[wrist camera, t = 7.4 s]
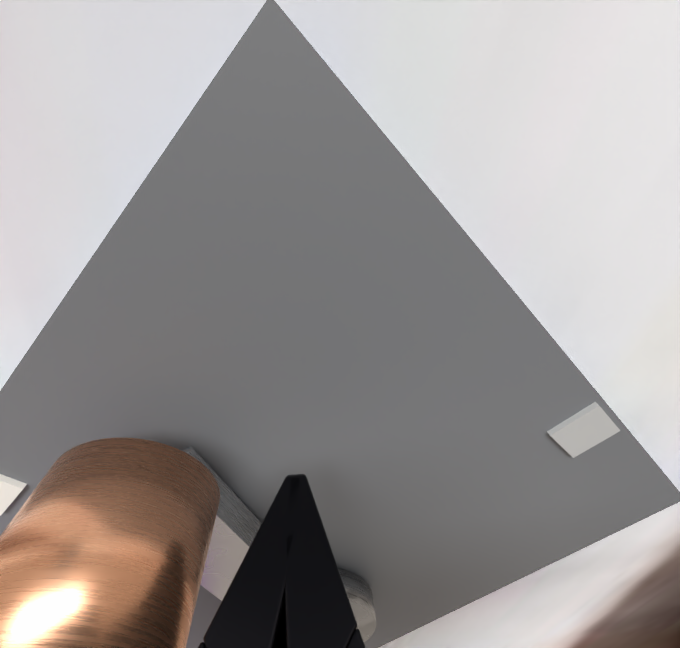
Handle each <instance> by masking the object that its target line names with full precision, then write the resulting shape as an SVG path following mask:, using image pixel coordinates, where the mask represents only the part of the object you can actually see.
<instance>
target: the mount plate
mask: <svg viewBox="0 0 680 648" xmlns="http://www.w3.org/2000/svg"><path fill="white" fill-rule="evenodd" d="M105 438H137V439H144V440H150V441H155V442H158V443H162V444H166V445H168V446H171V447H174V448H177V449H179V450H184V449H187V448H190V447H192V448H193V449H194V450H195V451H196V452H197V453H198V454H199V455H200V456H201V458H202V459H203V460H204V461H205V462H206V463H207V464H208V465H209V466H210V467H211V468H212V470H213V471H214V472H215V473H216V474H217V475H218V476H219V477H220V478H221V479H222V480H223V482H224V483H225V484H226V485H227V486H228V487H229V488H230V489H231V490H232V491H233V492H234V494H235V495H236V496H237V497H238V498H239V499H240V500H241V501H242V502H243V503H244V505H245V506H246V507H247V508H248V509H249V510H250V511H251V512H252V513H253V514H254V515H255V517H256V518H257V519H258V520H259V521H260V522H261V523H262V522H263V520H264V518H265V516H266V514H267V512H268V510H269V508H270V506H271V504H272V502H273V500H274V498H275V496H276V495H277V493H278V491H279V489H280V487H281V485H282V483H283V481H284V479H285V477H286V476H287V475H293V474H305V475H306V477H307V479H308V482H309V485H310V488H311V491H312V494H313V497H314V500H315V502H316V505H317V508H318V511H319V514H320V517H321V520H322V523H323V526H324V529H325V532H326V534H327V537H328V540H329V543H330V546H331V549H332V552H333V555H334V558H335V561H336V564H337V567H338V569H342V570H345V571H348V572H351V573H354V574H356V575H358V576H359V577H361V578H362V579H364V580H365V581H366V582H367V583H368V584H369V586H370V587H371V590H372V594H373V601H374V609H375V616H376V629H375V631H374V633H373V635H372V636H371V637H370V638H369V639H368V640H367V641H366V642H364V645H365V648H378V647H380V646H382V645H384V644H386V643H388V642H390V641H393V640H395V639H397V638H399V637H401V636H403V635H405V634H407V633H409V632H411V631H413V630H415V629H417V628H419V627H421V626H424V625H426V624H428V623H430V622H432V621H434V620H436V619H438V618H440V617H442V616H444V615H446V614H448V613H450V612H452V611H455V610H457V609H459V608H461V607H463V606H465V605H467V604H469V603H471V602H473V601H475V600H477V599H479V598H481V597H483V596H486V595H488V594H490V593H492V592H494V591H496V590H498V589H500V588H502V587H504V586H506V585H508V584H510V583H512V582H514V581H517V580H519V579H521V578H523V577H525V576H527V575H529V574H531V573H533V572H535V571H537V570H539V569H541V568H543V567H545V566H548V565H550V564H552V563H554V562H556V561H558V560H560V559H562V558H564V557H566V556H568V555H570V554H572V553H574V552H576V551H579V550H581V549H583V548H585V547H587V546H589V545H591V544H593V543H595V542H597V541H599V540H601V539H603V538H605V537H607V536H609V535H612V534H614V533H616V532H618V531H620V530H622V529H624V528H626V527H628V526H630V525H632V524H634V523H636V522H638V521H640V520H643V519H645V518H647V517H649V516H651V515H653V514H655V513H657V512H659V511H661V510H663V509H665V508H667V507H669V506H671V505H674V504H676V503H678V502H680V492H679V491H678V490H677V488H676V487H675V486H674V485H673V484H672V482H671V481H670V480H669V479H668V477H667V476H666V475H665V474H664V473H663V471H662V470H661V469H660V468H659V467H658V465H657V464H656V463H655V462H654V461H653V459H652V458H651V457H650V456H649V454H648V453H647V452H646V451H645V450H644V448H643V447H642V446H641V445H640V444H639V442H638V441H637V440H636V439H635V437H634V436H633V435H632V434H631V433H630V431H629V430H628V429H627V428H626V427H625V425H624V424H623V423H622V422H621V420H620V419H619V418H618V417H617V416H616V414H615V413H614V412H613V411H612V410H611V408H610V407H609V406H608V405H607V404H606V402H605V401H604V400H603V399H602V397H601V396H600V395H599V394H598V393H597V391H596V390H595V389H594V388H593V387H592V385H591V384H590V383H589V382H588V380H587V379H586V378H585V377H584V376H583V374H582V373H581V372H580V371H579V370H578V368H577V367H576V366H575V365H574V364H573V362H572V361H571V360H570V359H569V357H568V356H567V355H566V354H565V353H564V351H563V350H562V349H561V348H560V347H559V345H558V344H557V343H556V342H555V340H554V339H553V338H552V337H551V336H550V334H549V333H548V332H547V331H546V330H545V328H544V327H543V326H542V325H541V323H540V322H539V321H538V320H537V319H536V317H535V316H534V315H533V314H532V313H531V311H530V310H529V309H528V308H527V307H526V305H525V304H524V303H523V302H522V300H521V299H520V298H519V297H518V296H517V294H516V293H515V292H514V291H513V290H512V288H511V287H510V286H509V285H508V283H507V282H506V281H505V280H504V279H503V277H502V276H501V275H500V274H499V273H498V271H497V270H496V269H495V268H494V267H493V265H492V264H491V263H490V262H489V260H488V259H487V258H486V257H485V256H484V254H483V253H482V252H481V251H480V250H479V248H478V247H477V246H476V245H475V243H474V242H473V241H472V240H471V239H470V237H469V236H468V235H467V234H466V233H465V231H464V230H463V229H462V228H461V226H460V225H459V224H458V223H457V222H456V220H455V219H454V218H453V217H452V216H451V214H450V213H449V212H448V211H447V210H446V208H445V207H444V206H443V205H442V203H441V202H440V201H439V200H438V199H437V197H436V196H435V195H434V194H433V193H432V191H431V190H430V189H429V188H428V186H427V185H426V184H425V183H424V182H423V180H422V179H421V178H420V177H419V176H418V174H417V173H416V172H415V171H414V170H413V168H412V167H411V166H410V165H409V163H408V162H407V161H406V160H405V159H404V157H403V156H402V155H401V154H400V153H399V151H398V150H397V149H396V148H395V146H394V145H393V144H392V143H391V142H390V140H389V139H388V138H387V137H386V136H385V134H384V133H383V132H382V131H381V129H380V128H379V127H378V126H377V125H376V123H375V122H374V121H373V120H372V119H371V117H370V116H369V115H368V114H367V113H366V111H365V110H364V109H363V108H362V106H361V105H360V104H359V103H358V102H357V100H356V99H355V98H354V97H353V96H352V94H351V93H350V92H349V91H348V89H347V88H346V87H345V86H344V85H343V83H342V82H341V81H340V80H339V79H338V77H337V76H336V75H335V74H334V73H333V71H332V70H331V69H330V68H329V66H328V65H327V64H326V63H325V62H324V60H323V59H322V58H321V57H320V56H319V54H318V53H317V52H316V51H315V49H314V48H313V47H312V46H311V45H310V43H309V42H308V41H307V40H306V39H305V37H304V36H303V35H302V34H301V32H300V31H299V30H298V29H297V28H296V26H295V25H294V24H293V23H292V22H291V20H290V19H289V18H288V17H287V16H286V14H285V13H284V12H283V11H282V9H281V8H280V7H279V6H278V5H277V3H276V2H275V1H274V0H267V1H266V3H265V4H264V6H263V7H262V9H261V10H260V12H259V13H258V15H257V16H256V17H255V19H254V20H253V22H252V23H251V25H250V26H249V28H248V29H247V31H246V32H245V34H244V35H243V36H242V38H241V39H240V41H239V42H238V44H237V45H236V47H235V48H234V50H233V51H232V53H231V54H230V56H229V57H228V58H227V60H226V61H225V63H224V64H223V66H222V67H221V69H220V70H219V72H218V73H217V75H216V76H215V77H214V79H213V80H212V82H211V83H210V85H209V86H208V88H207V89H206V91H205V92H204V94H203V95H202V97H201V98H200V99H199V101H198V102H197V104H196V105H195V107H194V108H193V110H192V111H191V113H190V114H189V116H188V117H187V119H186V120H185V121H184V123H183V124H182V126H181V127H180V129H179V130H178V132H177V133H176V135H175V136H174V138H173V139H172V140H171V142H170V143H169V145H168V146H167V148H166V149H165V151H164V152H163V154H162V155H161V157H160V158H159V160H158V161H157V162H156V164H155V165H154V167H153V168H152V170H151V171H150V173H149V174H148V176H147V177H146V179H145V180H144V181H143V183H142V184H141V186H140V187H139V189H138V190H137V192H136V193H135V195H134V196H133V198H132V199H131V201H130V202H129V203H128V205H127V206H126V208H125V209H124V211H123V212H122V214H121V215H120V217H119V218H118V220H117V221H116V222H115V224H114V225H113V227H112V228H111V230H110V231H109V233H108V234H107V236H106V237H105V239H104V240H103V242H102V243H101V244H100V246H99V247H98V249H97V250H96V252H95V253H94V255H93V256H92V258H91V259H90V261H89V262H88V263H87V265H86V266H85V268H84V269H83V271H82V272H81V274H80V275H79V277H78V278H77V280H76V281H75V283H74V284H73V285H72V287H71V288H70V290H69V291H68V293H67V294H66V296H65V297H64V299H63V300H62V302H61V303H60V305H59V306H58V307H57V309H56V310H55V312H54V313H53V315H52V316H51V318H50V319H49V321H48V322H47V324H46V325H45V326H44V328H43V329H42V331H41V332H40V334H39V335H38V337H37V338H36V340H35V341H34V343H33V344H32V346H31V347H30V348H29V350H28V351H27V353H26V354H25V356H24V357H23V359H22V360H21V362H20V363H19V365H18V366H17V367H16V369H15V370H14V372H13V373H12V375H11V376H10V378H9V379H8V381H7V382H6V384H5V385H4V387H3V388H2V389H1V391H0V535H1V534H2V533H3V531H4V530H5V529H6V527H7V526H8V524H9V523H10V522H11V520H12V519H13V518H14V516H15V515H16V514H17V512H18V511H19V510H20V508H21V507H22V506H23V504H24V503H25V502H26V500H27V499H28V498H29V496H30V495H31V494H32V492H33V491H34V489H35V488H36V487H37V485H38V484H39V483H40V481H41V480H42V479H43V477H44V476H45V475H46V473H47V472H48V471H49V469H50V468H51V467H52V465H53V464H54V463H55V461H56V460H57V459H58V458H59V457H60V456H61V455H62V454H63V453H65V452H66V451H68V450H69V449H71V448H73V447H75V446H78V445H80V444H83V443H86V442H89V441H93V440H99V439H105ZM221 602H222V601H221V600H220V599H218V598H217V597H216V596H214V595H213V594H212V593H211V592H209V591H208V590H207V589H205V588H204V587H203V586H201V585H200V588H199V593H198V597H197V601H196V606H195V610H194V614H193V618H192V623H191V627H190V631H189V636H188V640H187V644H186V648H198V646H199V644H200V643H201V642H204V640H203V637H204V635H205V633H206V631H207V629H208V627H209V625H210V623H211V621H212V619H213V618H214V616H215V614H216V612H217V610H218V608H219V606H220V604H221Z"/></svg>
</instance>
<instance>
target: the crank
mask: <svg viewBox="0 0 680 648" xmlns="http://www.w3.org/2000/svg"><path fill="white" fill-rule="evenodd" d="M261 524H262V523H261V522H260V521H259V520H258V519H257V518H256V517H255V515H254V514H253V513H252V512H251V511H250V510H249V509H248V508H247V507H246V506H245V505H244V503H243V502H242V501H241V500H240V499H239V498H238V497H237V496H236V495H235V494H234V492H233V491H232V490H231V489H230V488H229V487H228V486H227V485H226V484H225V483H224V482H223V480H222V479H221V478H220V477H219V476H218V475H217V474H216V473H215V472H214V471H213V470H212V468H211V467H210V466H209V465H208V464H207V463H206V462H205V461H204V460H203V459H202V458H201V456H200V455H199V454H198V453H197V452H196V451H195V450H194V449H193V448H192V447H190V448H187V449H184V450H179V449H177V448H174V447H171V446H168V445H166V444H162V443H158V442H155V441H150V440H144V439H137V438H105V439H99V440H93V441H89V442H86V443H83V444H80V445H78V446H75V447H73V448H71V449H69V450H68V451H66V452H65V453H63V454H62V455H61V456H60V457H59V458H58V459H57V460H56V461H55V463H54V464H53V465H52V467H51V468H50V469H49V471H48V472H47V473H46V475H45V476H44V477H43V479H42V480H41V481H40V483H39V484H38V485H37V487H36V488H35V489H34V491H33V492H32V494H31V495H30V496H29V498H28V499H27V500H26V502H25V503H24V504H23V506H22V507H21V508H20V510H19V511H18V512H17V514H16V515H15V516H14V518H13V519H12V520H11V522H10V523H9V524H8V526H7V527H6V529H5V530H4V531H3V533H2V534H1V535H0V648H186V644H187V640H188V636H189V631H190V627H191V623H192V618H193V614H194V610H195V606H196V601H197V597H198V593H199V588H200V585H201V586H203V587H204V588H205V589H207V590H208V591H209V592H211V593H212V594H213V595H214V596H216V597H217V598H218V599H220V600H221V601H222V600H223V598H224V596H225V594H226V592H227V590H228V588H229V586H230V584H231V582H232V580H233V578H234V577H235V575H236V573H237V571H238V569H239V567H240V565H241V563H242V561H243V559H244V557H245V555H246V553H247V551H248V549H249V547H250V545H251V543H252V541H253V539H254V537H255V536H256V534H257V532H258V530H259V528H260V526H261ZM339 572H340V575H341V578H342V581H343V584H344V587H345V590H346V593H347V596H348V599H349V601H350V604H351V607H352V610H353V613H354V616H355V619H356V622H357V626H358V629H359V630H360V633H361V636H362V639H363V642H366V641H367V640H368V639H369V638H370V637H371V636H372V635H373V633H374V631H375V629H376V616H375V609H374V601H373V594H372V590H371V587H370V586H369V584H368V583H367V582H366V581H365V580H364V579H362V578H361V577H359V576H358V575H356V574H354V573H351V572H348V571H345V570H342V569H339Z"/></svg>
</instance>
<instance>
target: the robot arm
mask: <svg viewBox="0 0 680 648" xmlns="http://www.w3.org/2000/svg"><path fill="white" fill-rule="evenodd" d="M203 640H204V642H201V643H200V644H199V646H198V648H365V645H364V642H363V639H362V636H361V633H360V630H359V629H358V626H357V622H356V619H355V616H354V613H353V610H352V607H351V604H350V601H349V599H348V596H347V593H346V590H345V587H344V584H343V581H342V578H341V575H340V572H339V569H338V567H337V564H336V561H335V558H334V555H333V552H332V549H331V546H330V543H329V540H328V537H327V534H326V532H325V529H324V526H323V523H322V520H321V517H320V514H319V511H318V508H317V505H316V502H315V500H314V497H313V494H312V491H311V488H310V485H309V482H308V479H307V477H306V475H305V474H293V475H287V476H286V477H285V479H284V481H283V483H282V485H281V487H280V489H279V491H278V493H277V495H276V496H275V498H274V500H273V502H272V504H271V506H270V508H269V510H268V512H267V514H266V516H265V518H264V520H263V522H262V524H261V526H260V528H259V530H258V532H257V534H256V536H255V537H254V539H253V541H252V543H251V545H250V547H249V549H248V551H247V553H246V555H245V557H244V559H243V561H242V563H241V565H240V567H239V569H238V571H237V573H236V575H235V577H234V578H233V580H232V582H231V584H230V586H229V588H228V590H227V592H226V594H225V596H224V598H223V600H222V602H221V604H220V606H219V608H218V610H217V612H216V614H215V616H214V618H213V619H212V621H211V623H210V625H209V627H208V629H207V631H206V633H205V635H204V637H203Z"/></svg>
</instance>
